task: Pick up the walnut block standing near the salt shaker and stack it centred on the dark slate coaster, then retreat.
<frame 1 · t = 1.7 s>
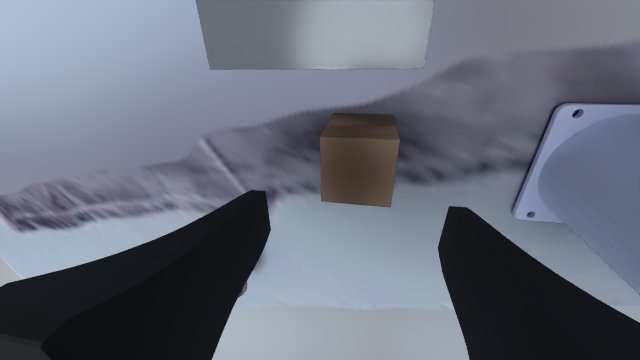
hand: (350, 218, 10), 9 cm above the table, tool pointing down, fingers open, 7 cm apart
walnut block: (360, 142, 18), on the table
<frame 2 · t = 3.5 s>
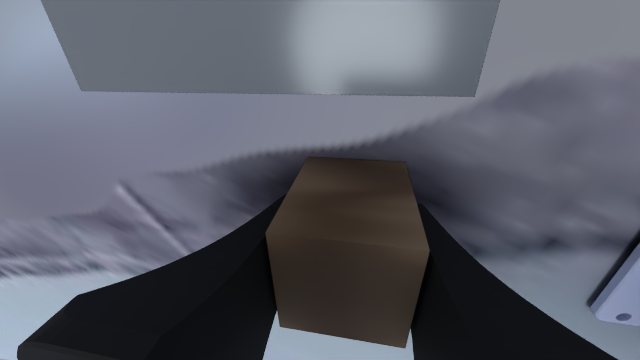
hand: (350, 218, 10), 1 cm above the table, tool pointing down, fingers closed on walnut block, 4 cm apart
walnut block: (353, 199, 11), on the table, touching gripper
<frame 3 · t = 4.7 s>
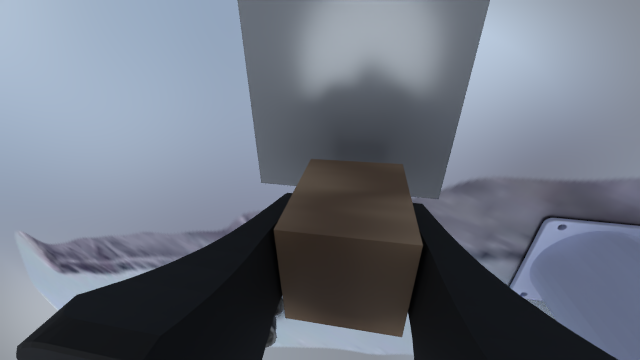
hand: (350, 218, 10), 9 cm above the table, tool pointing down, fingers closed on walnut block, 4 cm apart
slate coaster: (352, 91, 17), on the table
walnut block: (353, 199, 12), point 7 cm above the table, touching gripper
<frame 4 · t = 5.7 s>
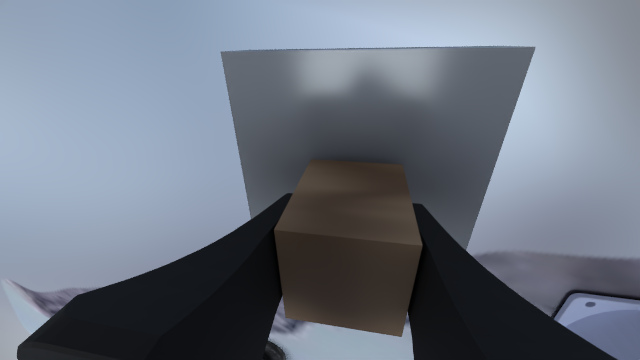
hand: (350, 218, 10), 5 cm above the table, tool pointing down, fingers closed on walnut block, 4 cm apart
slate coaster: (357, 163, 15), on the table
salt shaker: (262, 350, 28), on the table
walnut block: (353, 200, 12), point 3 cm above the table, touching gripper
when the fingers open (5 cm above the table, at t = 6.4 s): walnut block stays where it is, resting on slate coaster.
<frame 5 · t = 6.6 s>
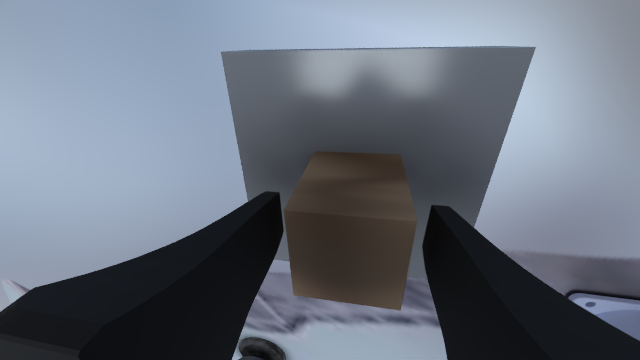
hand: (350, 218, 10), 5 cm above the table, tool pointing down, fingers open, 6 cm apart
slate coaster: (357, 163, 15), on the table
salt shaker: (262, 350, 28), on the table
walnut block: (355, 189, 13), point 2 cm above the table, touching slate coaster
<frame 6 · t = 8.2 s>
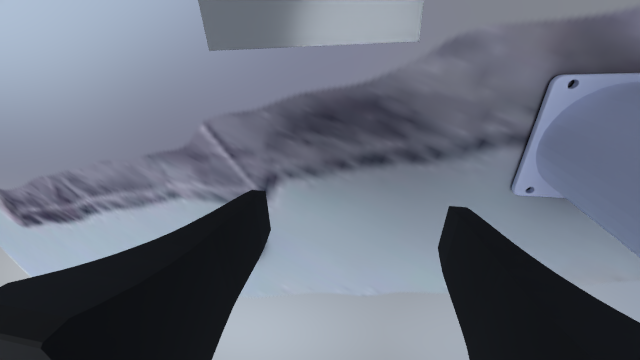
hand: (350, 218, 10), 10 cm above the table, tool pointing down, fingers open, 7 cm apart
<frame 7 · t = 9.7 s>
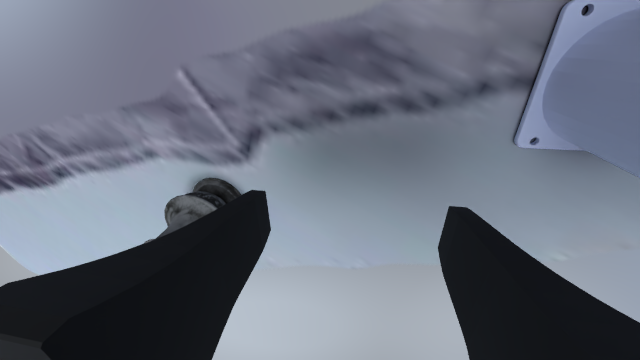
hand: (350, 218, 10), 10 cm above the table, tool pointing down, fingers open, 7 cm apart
salt shaker: (220, 201, 24), on the table
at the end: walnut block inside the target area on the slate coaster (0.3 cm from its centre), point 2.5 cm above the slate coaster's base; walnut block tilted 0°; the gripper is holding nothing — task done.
